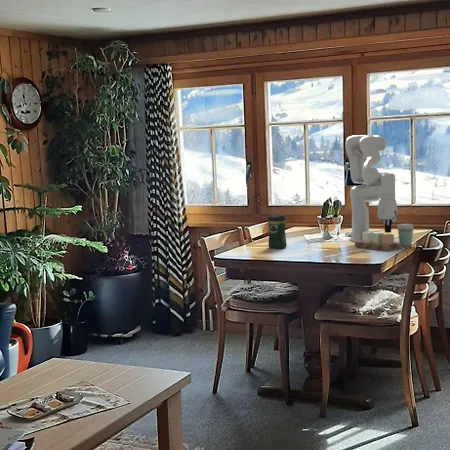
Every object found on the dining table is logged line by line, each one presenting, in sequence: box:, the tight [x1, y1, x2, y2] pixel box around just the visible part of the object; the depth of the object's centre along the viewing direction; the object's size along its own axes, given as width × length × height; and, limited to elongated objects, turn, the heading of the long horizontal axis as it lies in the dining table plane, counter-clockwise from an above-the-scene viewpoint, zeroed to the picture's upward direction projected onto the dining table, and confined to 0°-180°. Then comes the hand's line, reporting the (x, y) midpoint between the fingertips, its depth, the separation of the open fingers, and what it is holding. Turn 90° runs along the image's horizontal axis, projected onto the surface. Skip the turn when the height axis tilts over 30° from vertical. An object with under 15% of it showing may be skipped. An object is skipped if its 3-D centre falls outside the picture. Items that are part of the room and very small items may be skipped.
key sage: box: [372, 232, 385, 243], centre depth 356 cm, size 4×4×5 cm
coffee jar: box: [267, 213, 287, 250], centre depth 366 cm, size 10×8×19 cm
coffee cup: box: [396, 223, 414, 249], centre depth 357 cm, size 8×8×12 cm
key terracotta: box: [382, 233, 395, 245], centre depth 350 cm, size 4×4×5 cm
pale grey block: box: [362, 230, 375, 242], centre depth 362 cm, size 4×4×5 cm
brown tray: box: [354, 240, 403, 252], centre depth 356 cm, size 22×12×3 cm, turn 33°
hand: (388, 232), depth 349 cm, fingers closed
